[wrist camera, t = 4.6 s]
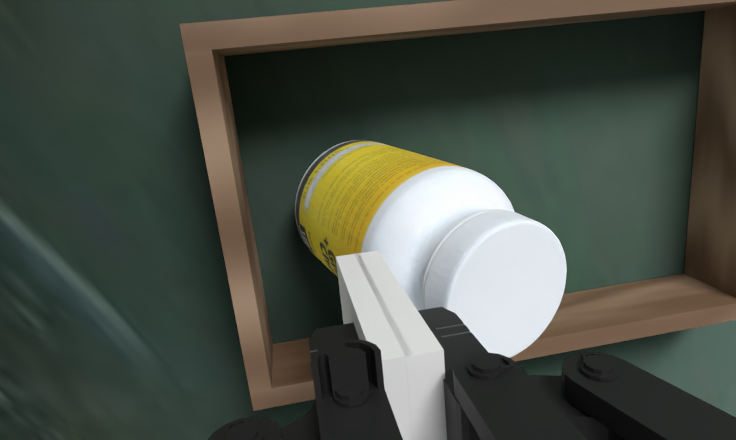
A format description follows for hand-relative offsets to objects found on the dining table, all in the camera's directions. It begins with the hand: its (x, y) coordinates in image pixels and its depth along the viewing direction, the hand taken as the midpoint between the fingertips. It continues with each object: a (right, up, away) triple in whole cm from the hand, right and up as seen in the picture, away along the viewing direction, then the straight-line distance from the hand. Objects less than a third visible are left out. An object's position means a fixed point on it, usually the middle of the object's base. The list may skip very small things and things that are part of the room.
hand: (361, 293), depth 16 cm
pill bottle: (-1, +3, +9) cm, 10 cm away
